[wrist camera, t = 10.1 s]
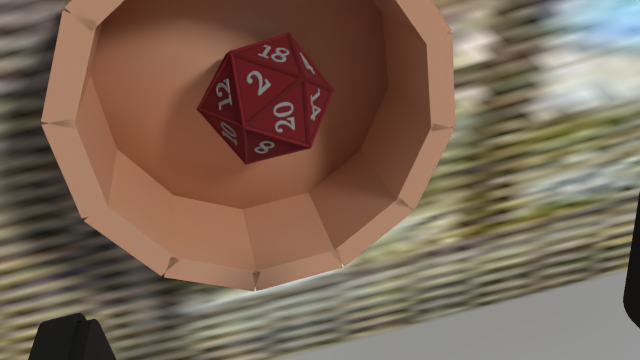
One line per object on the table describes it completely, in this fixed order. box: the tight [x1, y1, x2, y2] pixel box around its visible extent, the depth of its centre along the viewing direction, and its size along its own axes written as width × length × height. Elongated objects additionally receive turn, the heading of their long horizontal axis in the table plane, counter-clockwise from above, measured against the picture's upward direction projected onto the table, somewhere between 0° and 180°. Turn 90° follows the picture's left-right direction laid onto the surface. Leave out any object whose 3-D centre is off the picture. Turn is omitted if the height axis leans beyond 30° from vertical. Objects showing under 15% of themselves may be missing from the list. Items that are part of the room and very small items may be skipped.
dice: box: [197, 32, 334, 165], centre depth 18 cm, size 4×4×4 cm
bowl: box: [41, 0, 455, 291], centre depth 19 cm, size 12×12×5 cm
